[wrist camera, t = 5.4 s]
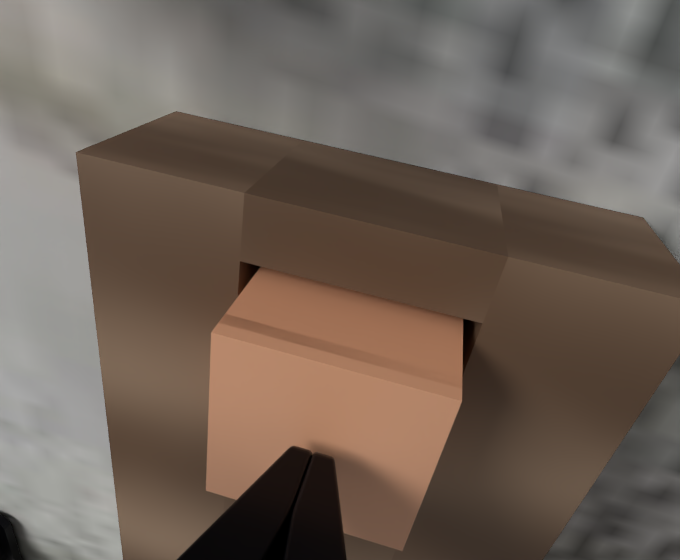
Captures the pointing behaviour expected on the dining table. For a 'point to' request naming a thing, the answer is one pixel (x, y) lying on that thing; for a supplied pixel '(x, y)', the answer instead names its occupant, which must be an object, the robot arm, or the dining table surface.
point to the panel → (383, 281)
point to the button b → (334, 395)
